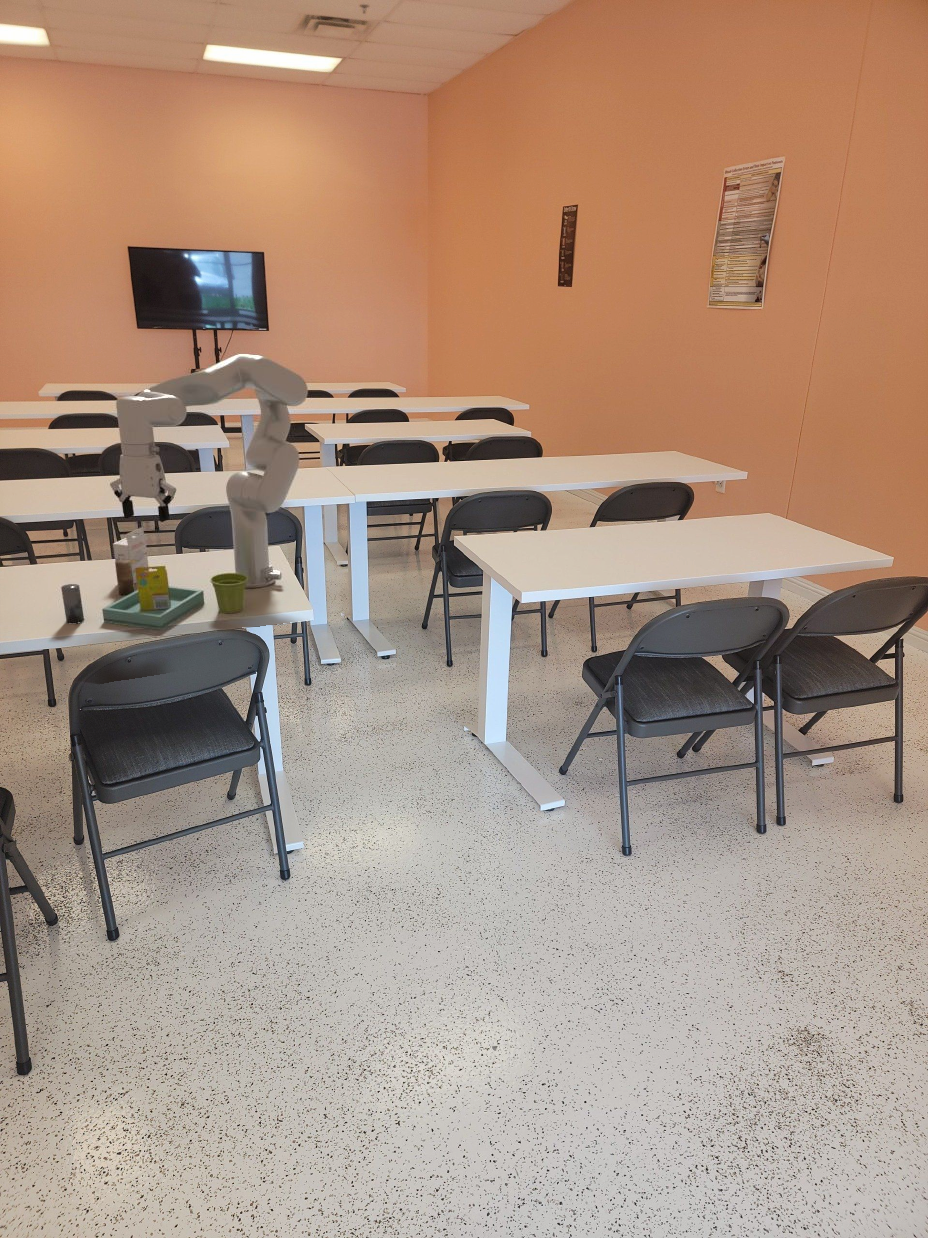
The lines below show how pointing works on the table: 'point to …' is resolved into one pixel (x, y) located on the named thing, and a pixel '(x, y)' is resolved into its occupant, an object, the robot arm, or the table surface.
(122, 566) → the walnut cylinder
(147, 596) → the crayon box
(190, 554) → the table surface
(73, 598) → the graphite cylinder
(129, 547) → the ink cartridge box
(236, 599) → the plant pot
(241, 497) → the robot arm
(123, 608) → the teal tray
